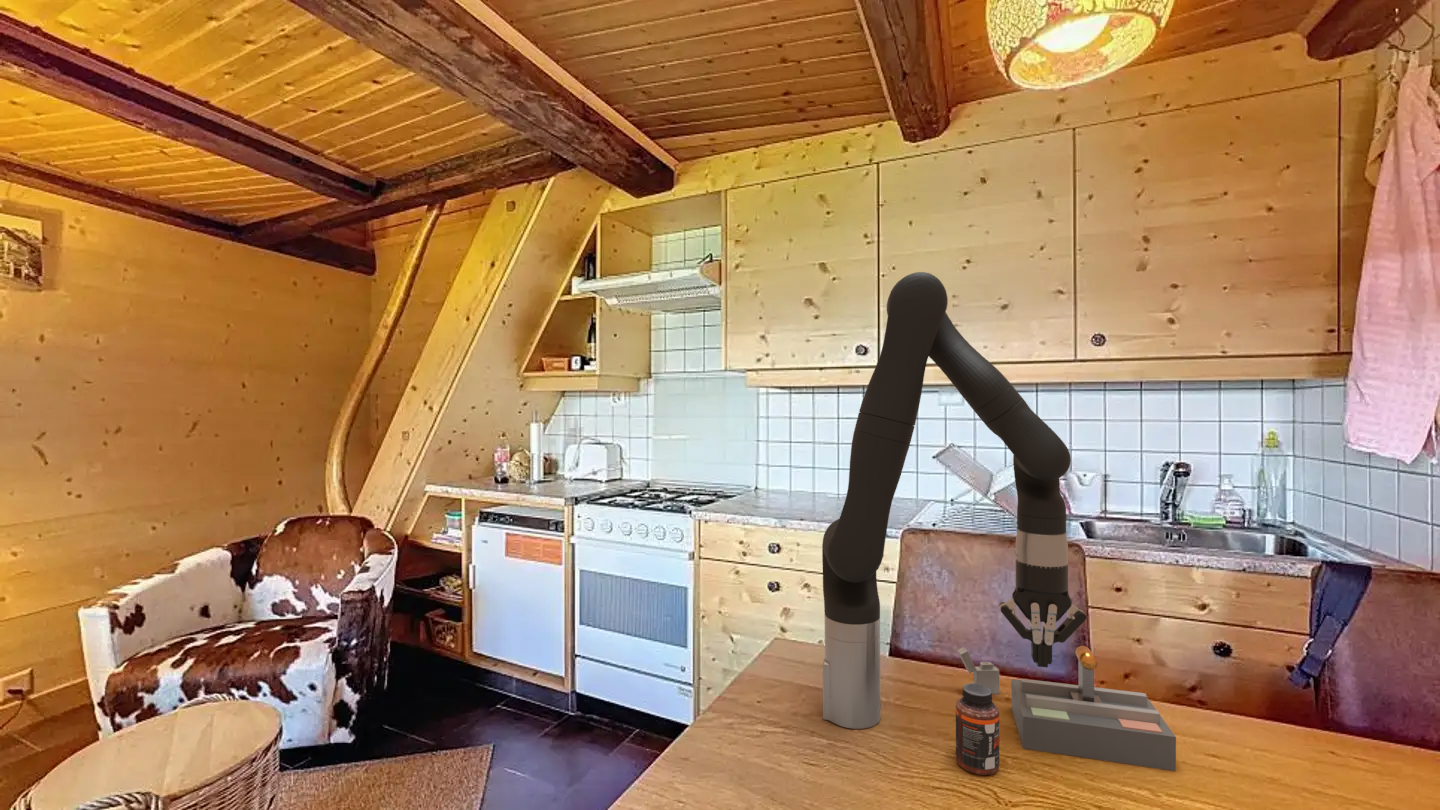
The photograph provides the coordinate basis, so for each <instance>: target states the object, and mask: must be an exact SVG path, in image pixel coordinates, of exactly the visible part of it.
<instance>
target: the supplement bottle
mask: <svg viewBox="0 0 1440 810" xmlns="http://www.w3.org/2000/svg"><path fill="white" fill-rule="evenodd" d="M961 694H962V695H961V697H960V698H959V699H958V700H957V701H956V703H955V759H956V762H957V763H958V765H959V766H960V767H961V768H962V769H964V770H965V771H967V772H969V773H972V774H975V775H983V776H989V775H994V774H995V773H996V772H997V771H998V770H999V768H1000V710H999V707H998V706H997V705H996V704H995V702H993V694H992V691H991V689H990V688H988V687H987V686H984V685H981V684H976V683H973V682H971V683H966V684H964V685H963V686H962V693H961Z"/></svg>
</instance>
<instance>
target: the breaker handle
mask: <svg viewBox="0 0 1440 810" xmlns="http://www.w3.org/2000/svg"><path fill="white" fill-rule="evenodd" d="M1075 655H1076V658H1077V660H1078V662H1077V664H1078V666H1077V667H1078V671H1077V673H1078V684H1077V685H1078V692H1075V691H1069V697H1070V699H1071V700H1078V701H1086V702H1094V703H1102V701H1101V700H1100V698H1099V696H1098V694H1094V687H1095V669H1096V668H1097V667H1098V660H1097V659H1096V658H1095V655H1094V654H1093V653H1092V650H1090V649H1089V647H1087V646H1085V645H1080V646H1077V648H1075ZM1102 704H1103V703H1102Z"/></svg>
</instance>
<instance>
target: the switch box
mask: <svg viewBox="0 0 1440 810" xmlns="http://www.w3.org/2000/svg"><path fill="white" fill-rule="evenodd" d="M1010 681H1011V683H1010V684H1011V693H1010V694H1011V697H1010V698H1011V700H1010V701H1011V706H1010V707H1011V711H1012V714H1013V717H1014V722H1015V725H1016V728H1017V733H1018V735H1019V739H1020V743H1021V746H1022V749H1023V750H1031V751H1038V752H1043V753H1050V754H1056V755H1057V754H1058V755H1063V756H1071V757H1075V758H1076V757H1077V758H1085V759H1091V760H1097V761H1098V760H1099V761H1105V762H1110V763H1118V764H1122V765H1123V764H1125V765H1130V766H1137V767H1138V766H1139V767H1145V768H1151V769H1156V770H1157V769H1159V770H1165V771H1172V772H1176V771H1177V736H1176V734H1175V733H1173V731H1172V729H1171V728H1170V726H1169V725H1168V724H1167V722H1166V721H1165V720H1164V718H1163V717H1162V716H1161V714H1160V712H1159V711H1158V710H1157V709H1156V707H1155V706H1154V705H1153V703H1152V702H1151V700H1150V699H1149V697H1148V696H1147V694H1146V693H1144V692H1137V691H1129V690H1122V689H1121V690H1120V689H1113V688H1112V689H1111V688H1103V687H1096V686H1094V694H1098V696H1099V698H1100V700H1101V701H1102V703H1103V704H1102V703H1094V702H1086V701H1078V700H1071V699H1070V697H1069V691H1075V692H1078V684H1069V683H1062V682H1052V681H1047V680H1045V681H1044V680H1036V679H1028V678H1020V679H1017V678H1016V679H1014V678H1011V680H1010Z"/></svg>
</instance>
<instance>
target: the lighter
mask: <svg viewBox="0 0 1440 810" xmlns="http://www.w3.org/2000/svg"><path fill="white" fill-rule="evenodd" d="M956 651H957V653H958V655H959V657H960V660H961V661H962V663H963V665H964V667H965V670H966V671H967V672H968V673H969V674H971V673H973V674H972V675H973V676H972V677H973V678H972V679H973V681H972V683H976V684H981V685H984V686H987V687H988V688H990V689H991V691H992V695H999V694H1000V669H999V668H998V667H997V666H995V665H994V663H993V662H992V663H991V661H990V662H989V661H981V662H979V666H975V664H974V662H973V660H972V657H971V656H970V654H969V651H968V650H967V649H966V648H965V647H964V646H963V647H961V648H959V649H957V650H956Z"/></svg>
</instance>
